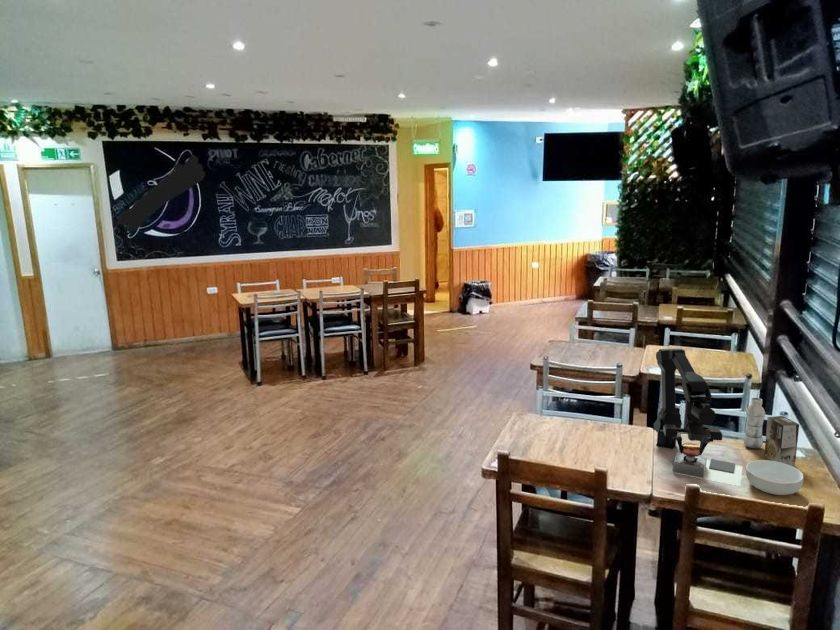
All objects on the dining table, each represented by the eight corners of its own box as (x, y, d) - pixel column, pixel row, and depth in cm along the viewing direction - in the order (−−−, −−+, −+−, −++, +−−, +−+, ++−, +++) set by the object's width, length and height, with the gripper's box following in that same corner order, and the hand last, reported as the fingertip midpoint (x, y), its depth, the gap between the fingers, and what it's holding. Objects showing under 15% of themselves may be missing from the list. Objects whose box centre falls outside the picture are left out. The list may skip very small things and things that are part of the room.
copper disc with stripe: (682, 471, 210) (683, 448, 209) (679, 463, 216) (680, 441, 214) (700, 472, 209) (702, 449, 207) (697, 465, 215) (698, 443, 213)
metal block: (672, 472, 211) (673, 461, 210) (676, 461, 219) (677, 451, 218) (703, 478, 206) (704, 467, 205) (706, 466, 214) (706, 456, 213)
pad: (708, 468, 213) (709, 467, 213) (711, 460, 220) (711, 459, 219) (733, 473, 209) (733, 472, 209) (735, 464, 215) (735, 463, 215)
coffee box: (796, 465, 214) (800, 424, 211) (779, 466, 214) (783, 425, 211) (779, 455, 223) (783, 415, 220) (763, 456, 223) (767, 416, 220)
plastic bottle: (765, 450, 227) (770, 401, 223) (748, 450, 227) (752, 402, 224) (756, 443, 234) (761, 396, 230) (739, 444, 234) (743, 396, 230)
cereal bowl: (741, 475, 209) (743, 456, 207) (796, 482, 202) (798, 463, 201) (747, 497, 193) (749, 477, 192) (806, 506, 187) (808, 486, 185)
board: (673, 474, 210) (674, 472, 210) (680, 456, 225) (680, 454, 224) (740, 487, 200) (740, 486, 200) (742, 467, 214) (742, 466, 214)
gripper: (668, 420, 203) (666, 461, 206) (727, 423, 198) (724, 466, 201) (664, 408, 214) (661, 448, 217) (720, 412, 209) (716, 452, 212)
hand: (690, 454), depth 211 cm, fingers closed on copper disc with stripe, 6 cm apart
